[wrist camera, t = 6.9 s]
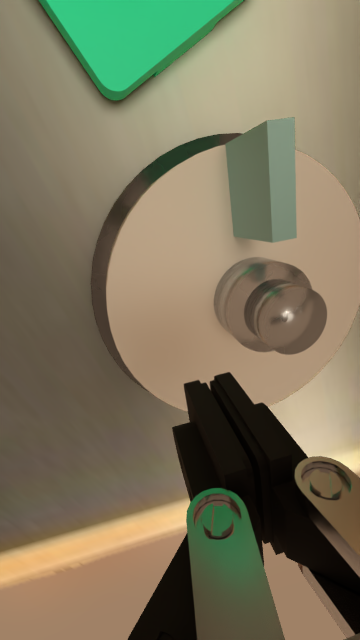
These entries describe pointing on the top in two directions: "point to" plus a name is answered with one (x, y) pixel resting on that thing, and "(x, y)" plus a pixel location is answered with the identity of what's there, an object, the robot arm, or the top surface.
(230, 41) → the top surface
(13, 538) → the top surface
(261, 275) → the cover
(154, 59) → the camera mount
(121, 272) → the turntable
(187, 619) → the robot arm
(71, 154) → the top surface
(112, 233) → the turntable base
